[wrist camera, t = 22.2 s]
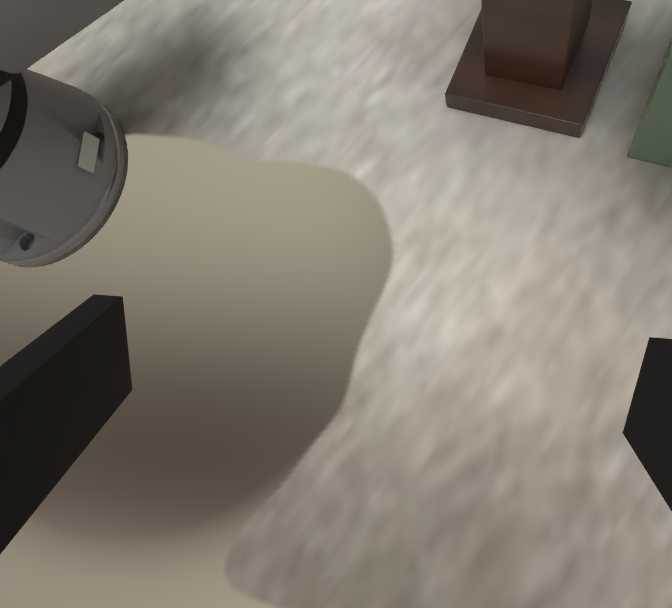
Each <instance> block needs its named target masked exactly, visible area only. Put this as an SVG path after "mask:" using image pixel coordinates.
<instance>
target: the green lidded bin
mask: <svg viewBox="0 0 672 608" xmlns="http://www.w3.org/2000/svg"><path fill="white" fill-rule="evenodd" d="M627 156H628V157H632V158H636V159H640V160H644V161H648V162H653V163H657V164H661V165H665V166H669V167H672V39H671V42H670V45H669V47H668V50H667V53H666V55H665V58H664V60H663V63H662V66H661V68H660V71H659V74H658V76H657V79H656V82H655V84H654V87H653V89H652V92H651V95H650V97H649V100H648V103H647V105H646V108H645V111H644V113H643V116H642V118H641V121H640V124H639V126H638V129H637V132H636V134H635V137H634V139H633V142H632V145H631V147H630V150H629V153H628V155H627Z"/></svg>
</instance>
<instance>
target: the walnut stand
mask: <svg viewBox="0 0 672 608" xmlns="http://www.w3.org/2000/svg"><path fill="white" fill-rule="evenodd" d="M481 1H482V9H481V12H480V14H479V16H478V19H477V21H476V23H475V26H474V28H473V30H472V33H471V35H470V37H469V40H468V42H467V44H466V47H465V49H464V51H463V54H462V56H461V58H460V61H459V63H458V65H457V68H456V70H455V72H454V75H453V77H452V79H451V82H450V84H449V86H448V89H447V91H446V93H445V97H446V103H447V106H448V107H452V108H456V109H460V110H464V111H469V112H473V113H477V114H482V115H486V116H490V117H494V118H499V119H503V120H507V121H511V122H516V123H520V124H524V125H529V126H533V127H537V128H541V129H546V130H550V131H554V132H559V133H563V134H567V135H571V136H576V137H580V136H581V134H582V132H583V129H584V127H585V124H586V122H587V119H588V116H589V114H590V111H591V109H592V106H593V104H594V101H595V99H596V96H597V93H598V91H599V88H600V86H601V83H602V81H603V78H604V76H605V73H606V71H607V68H608V65H609V63H610V60H611V58H612V55H613V53H614V50H615V48H616V45H617V43H618V40H619V37H620V35H621V32H622V30H623V27H624V25H625V22H626V20H627V17H628V13H629V10H630V6H631V1H626V0H481Z"/></svg>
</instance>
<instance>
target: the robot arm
mask: <svg viewBox="0 0 672 608" xmlns="http://www.w3.org/2000/svg"><path fill="white" fill-rule="evenodd" d="M122 1H124V0H0V261H3V262H5V263H8V264H11V265H15V266H19V267H38V266H44V265H48V264H52V263H54V262H57V261H60V260H62V259H64V258H66V257H68V256H70V255H71V254H73V253H75V252H76V251H77V250H79V249H80V248H82V247H83V246H84V245H85V244H86V243H88V242H89V241H90V240H91V239H92V238H93V237H94V236H95V235H96V234H97V233H98V231H99V230H100V229H101V228H102V227H103V226H104V224H105V223H106V221H107V220H108V219H109V217H110V215H111V214H112V212H113V210H114V209H115V207H116V205H117V203H118V200H119V198H120V196H121V193H122V190H123V187H124V183H125V179H126V174H127V165H128V150H127V143H126V139H125V135H124V133H123V130H122V128H121V126H120V124H119V122H118V121H117V119H116V118H115V116H114V115H113V114H112V113H111V112H110V111H109V110H108V109H107V108H105V107H104V106H103V105H102V104H101V103H100V102H99V101H97V100H96V99H95V98H94V97H92V96H91V95H89V94H88V93H86V92H84V91H82V90H80V89H78V88H76V87H73V86H71V85H68V84H65V83H63V82H60V81H57V80H55V79H52V78H49V77H47V76H44V75H41V74H39V73H36V72H33V71H31V70H28V69H27V68H28V67H30V66H31V65H33V64H34V63H35V62H37V61H38V60H40V59H41V58H43V57H44V56H45V55H47V54H48V53H50V52H51V51H53V50H54V49H55V48H57V47H58V46H60V45H61V44H62V43H64V42H65V41H67V40H68V39H70V38H71V37H72V36H74V35H75V34H77V33H78V32H80V31H81V30H82V29H84V28H85V27H87V26H88V25H90V24H91V23H92V22H94V21H95V20H97V19H98V18H100V17H101V16H102V15H104V14H105V13H107V12H108V11H110V10H111V9H112V8H114V7H115V6H117V5H118V4H120V3H121V2H122ZM131 390H132V382H131V373H130V363H129V354H128V344H127V334H126V325H125V315H124V305H123V297H119V296H105V295H93V296H91V297H90V298H89V299H87V300H86V301H85V302H84V303H82V304H81V305H80V306H78V307H77V308H76V309H74V310H73V311H72V312H70V313H69V314H68V315H66V316H65V317H64V318H63V319H62V320H60V321H59V322H57V323H56V324H55V325H53V326H52V327H51V328H49V329H48V330H47V331H46V332H44V333H43V334H42V335H40V336H39V337H38V338H37V339H35V340H34V341H33V342H31V343H30V344H29V345H27V346H26V347H25V348H23V349H22V350H21V351H20V352H18V353H17V354H16V355H14V356H13V357H12V358H10V359H9V360H8V361H6V362H5V363H4V364H3V365H1V366H0V554H1V552H2V551H3V550H4V549H5V548H6V546H7V545H8V544H9V542H10V541H11V540H12V539H13V537H14V536H15V535H16V534H17V533H18V531H19V530H20V529H21V528H22V526H23V525H24V524H25V523H26V521H27V520H28V519H29V518H30V516H31V515H32V514H33V513H34V511H35V510H36V509H37V508H38V506H39V505H40V504H41V503H42V501H43V500H44V499H45V498H46V497H47V495H48V494H49V493H50V491H51V490H52V489H53V488H54V487H55V485H56V484H57V483H58V482H59V480H60V479H61V478H62V477H63V475H64V474H65V473H66V472H67V470H68V469H69V467H71V465H72V464H73V463H74V462H75V460H76V459H77V458H78V457H79V455H80V454H81V453H82V451H83V450H84V449H85V448H86V447H87V445H88V444H89V443H90V442H91V440H92V439H93V438H94V437H95V435H96V434H97V433H98V432H99V430H100V429H101V428H102V427H103V425H104V424H105V423H106V422H107V421H108V419H109V418H110V417H111V416H112V414H113V413H114V412H115V411H116V409H117V408H118V407H119V406H120V404H121V403H122V402H123V401H124V399H125V398H126V397H127V396H128V394H129V393H130V392H131ZM623 434H624V436H625V437H626V439H627V440H628V442H629V444H630V445H631V447H632V448H633V450H634V452H635V453H636V455H637V456H638V458H639V460H640V461H641V463H642V464H643V466H644V468H645V469H646V471H647V472H648V474H649V476H650V477H651V479H652V480H653V482H654V484H655V485H656V487H657V489H658V490H659V492H660V493H661V495H662V497H663V498H664V500H665V501H666V503H667V505H668V506H669V508H670V509H671V511H672V339H664V338H651V337H649V341H648V344H647V348H646V352H645V355H644V359H643V362H642V366H641V369H640V373H639V377H638V380H637V384H636V387H635V391H634V395H633V398H632V402H631V405H630V409H629V412H628V416H627V420H626V423H625V427H624V430H623Z"/></svg>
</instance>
